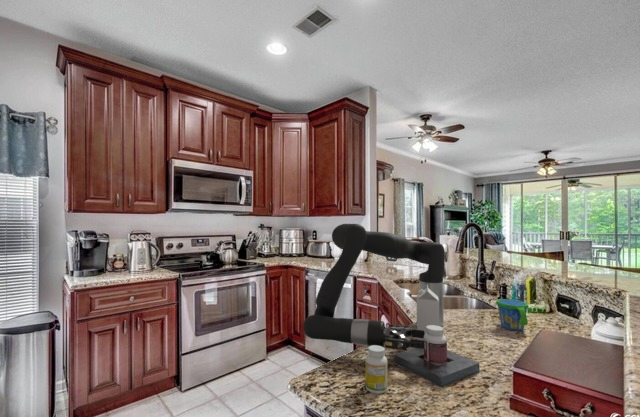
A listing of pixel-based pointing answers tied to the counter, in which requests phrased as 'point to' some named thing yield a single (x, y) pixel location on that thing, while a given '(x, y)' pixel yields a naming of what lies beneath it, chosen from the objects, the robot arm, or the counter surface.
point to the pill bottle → (435, 345)
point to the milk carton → (427, 309)
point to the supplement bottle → (376, 370)
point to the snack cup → (512, 314)
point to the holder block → (437, 367)
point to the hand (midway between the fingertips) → (424, 339)
